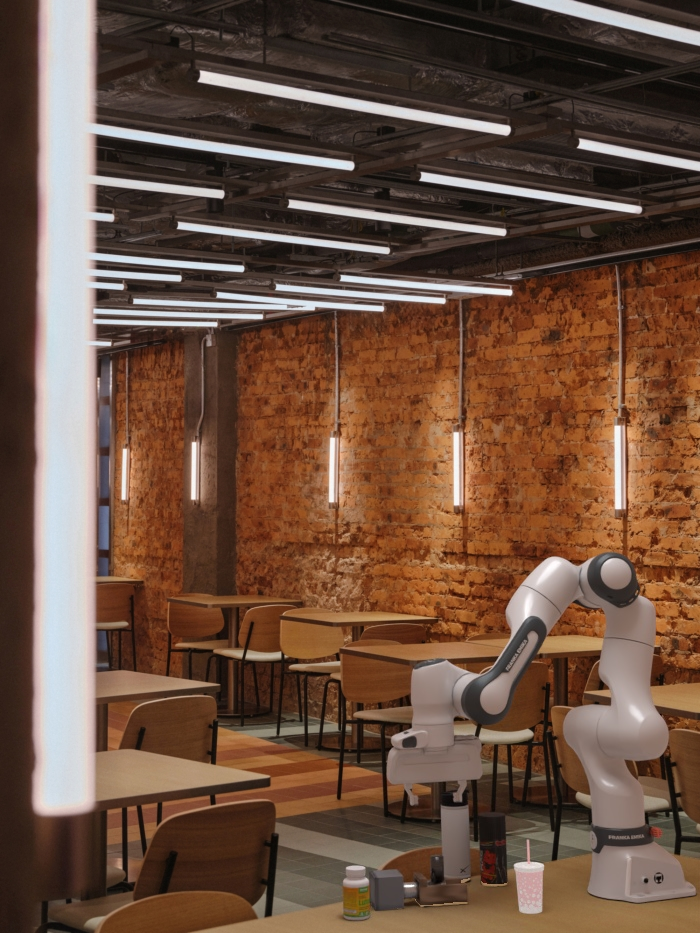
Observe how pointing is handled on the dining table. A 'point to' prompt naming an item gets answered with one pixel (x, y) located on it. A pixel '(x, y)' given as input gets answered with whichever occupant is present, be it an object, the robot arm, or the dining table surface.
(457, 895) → the guide channel
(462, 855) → the travel mug
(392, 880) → the socket block
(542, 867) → the beverage cup
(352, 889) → the supplement bottle
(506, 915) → the dining table surface
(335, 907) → the dining table surface
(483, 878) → the deodorant
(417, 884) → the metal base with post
